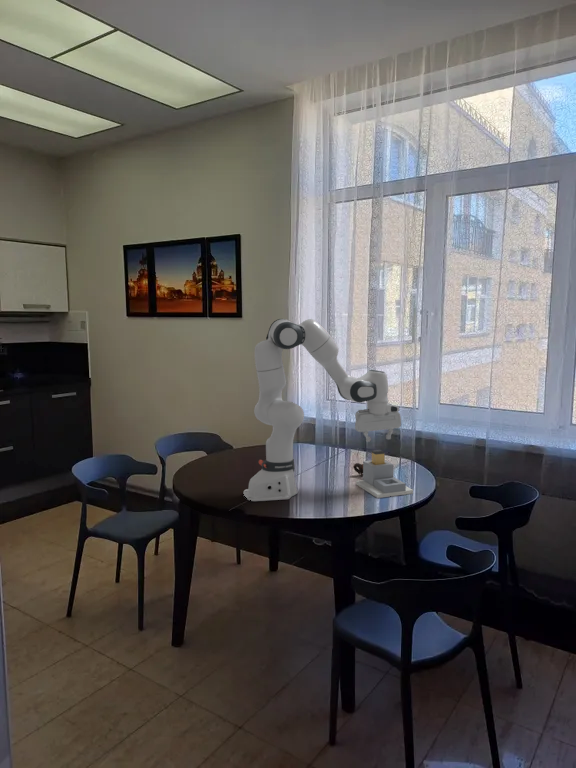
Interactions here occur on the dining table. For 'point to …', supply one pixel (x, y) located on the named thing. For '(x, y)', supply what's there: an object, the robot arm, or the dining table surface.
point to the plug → (378, 457)
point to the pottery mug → (360, 466)
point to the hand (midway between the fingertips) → (378, 440)
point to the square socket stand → (382, 480)
